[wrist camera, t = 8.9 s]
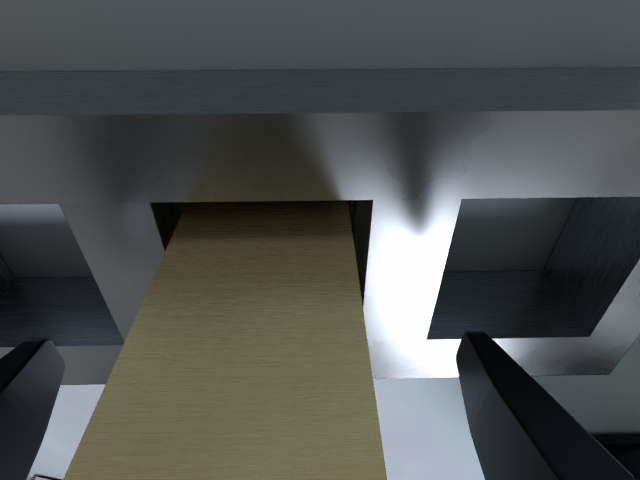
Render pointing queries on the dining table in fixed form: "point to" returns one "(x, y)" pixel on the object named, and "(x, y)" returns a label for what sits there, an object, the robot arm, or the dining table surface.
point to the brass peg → (244, 356)
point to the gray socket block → (338, 198)
